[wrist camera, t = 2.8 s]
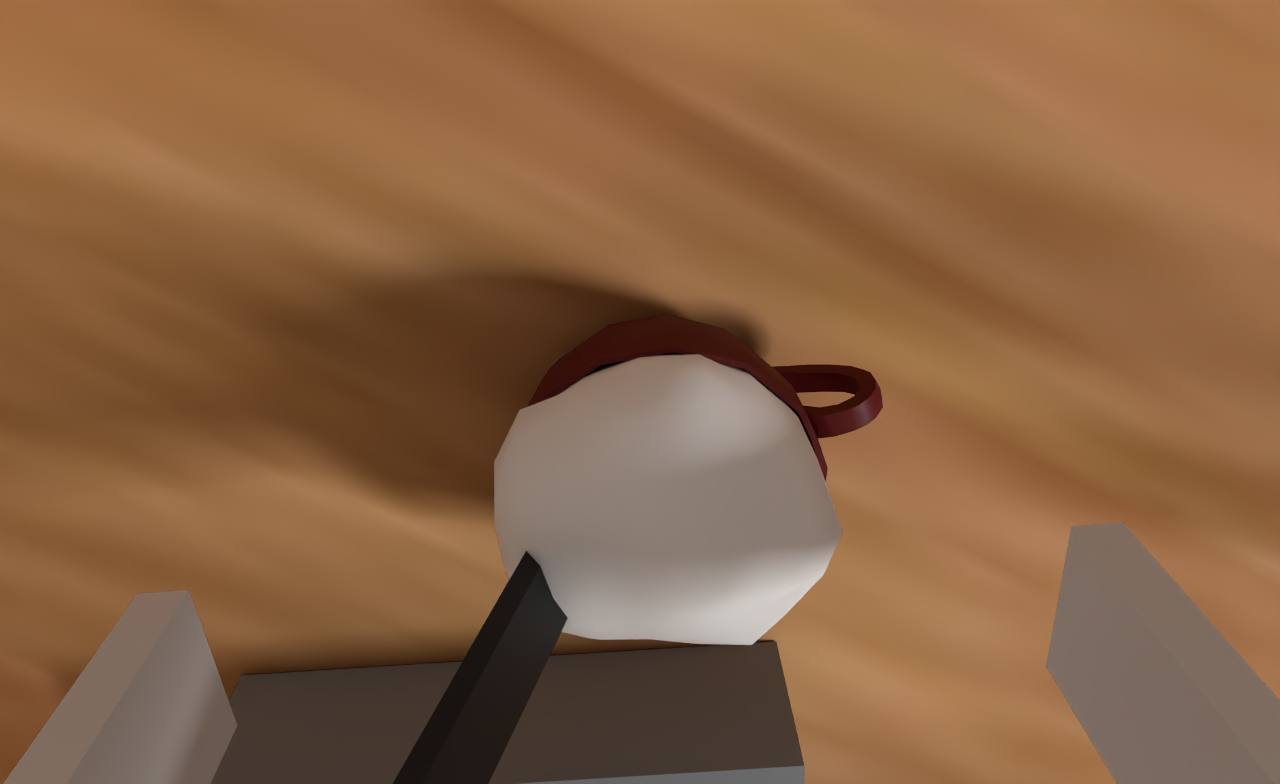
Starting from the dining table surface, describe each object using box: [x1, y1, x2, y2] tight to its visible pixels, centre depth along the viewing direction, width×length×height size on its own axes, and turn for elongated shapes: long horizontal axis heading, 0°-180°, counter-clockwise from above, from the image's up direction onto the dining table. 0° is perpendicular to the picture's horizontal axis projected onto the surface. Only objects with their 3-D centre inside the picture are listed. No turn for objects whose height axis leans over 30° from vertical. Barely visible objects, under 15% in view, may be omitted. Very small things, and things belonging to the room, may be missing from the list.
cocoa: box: [393, 314, 883, 784], centre depth 15 cm, size 10×6×12 cm, turn 90°
